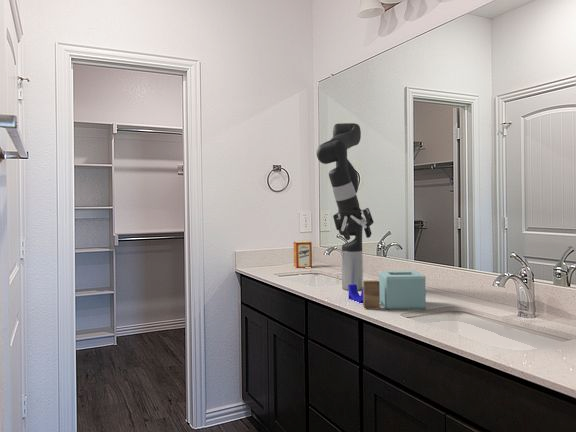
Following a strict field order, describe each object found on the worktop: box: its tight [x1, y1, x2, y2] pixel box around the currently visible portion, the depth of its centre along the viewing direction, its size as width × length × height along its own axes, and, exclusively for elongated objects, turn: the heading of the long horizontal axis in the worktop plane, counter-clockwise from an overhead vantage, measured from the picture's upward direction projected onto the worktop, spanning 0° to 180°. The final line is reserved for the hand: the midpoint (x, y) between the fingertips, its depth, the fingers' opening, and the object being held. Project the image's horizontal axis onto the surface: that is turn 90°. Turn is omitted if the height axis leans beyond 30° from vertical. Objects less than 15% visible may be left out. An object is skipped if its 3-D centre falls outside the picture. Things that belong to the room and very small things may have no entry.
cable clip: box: [347, 284, 363, 304], centre depth 177 cm, size 12×4×6 cm, turn 21°
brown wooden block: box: [363, 279, 381, 309], centre depth 165 cm, size 3×6×10 cm, turn 89°
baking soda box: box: [293, 240, 313, 269], centre depth 274 cm, size 10×6×16 cm
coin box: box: [378, 270, 427, 311], centre depth 169 cm, size 14×14×12 cm
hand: (358, 238), depth 163 cm, fingers open, 8 cm apart
